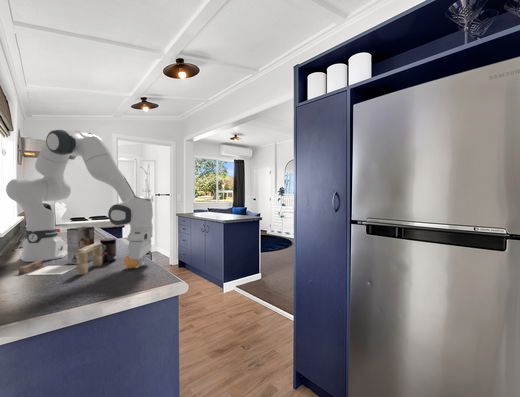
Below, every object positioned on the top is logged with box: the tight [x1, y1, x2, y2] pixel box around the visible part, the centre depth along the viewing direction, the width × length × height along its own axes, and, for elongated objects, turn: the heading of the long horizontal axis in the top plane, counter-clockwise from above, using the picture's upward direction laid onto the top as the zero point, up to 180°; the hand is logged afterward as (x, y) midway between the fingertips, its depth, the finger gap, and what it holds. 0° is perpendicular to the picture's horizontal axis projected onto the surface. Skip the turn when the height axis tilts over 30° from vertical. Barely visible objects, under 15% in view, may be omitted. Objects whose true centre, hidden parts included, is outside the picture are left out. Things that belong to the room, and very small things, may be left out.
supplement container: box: [99, 237, 117, 264], centre depth 130 cm, size 7×7×10 cm
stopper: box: [18, 261, 44, 275], centre depth 114 cm, size 11×2×2 cm, turn 7°
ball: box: [123, 254, 138, 269], centre depth 118 cm, size 6×6×6 cm
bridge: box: [76, 242, 103, 276], centre depth 116 cm, size 3×15×10 cm, turn 7°
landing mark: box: [26, 264, 77, 276], centre depth 114 cm, size 13×13×1 cm
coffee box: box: [66, 226, 95, 265], centre depth 128 cm, size 9×6×16 cm
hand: (141, 265), depth 119 cm, fingers closed
